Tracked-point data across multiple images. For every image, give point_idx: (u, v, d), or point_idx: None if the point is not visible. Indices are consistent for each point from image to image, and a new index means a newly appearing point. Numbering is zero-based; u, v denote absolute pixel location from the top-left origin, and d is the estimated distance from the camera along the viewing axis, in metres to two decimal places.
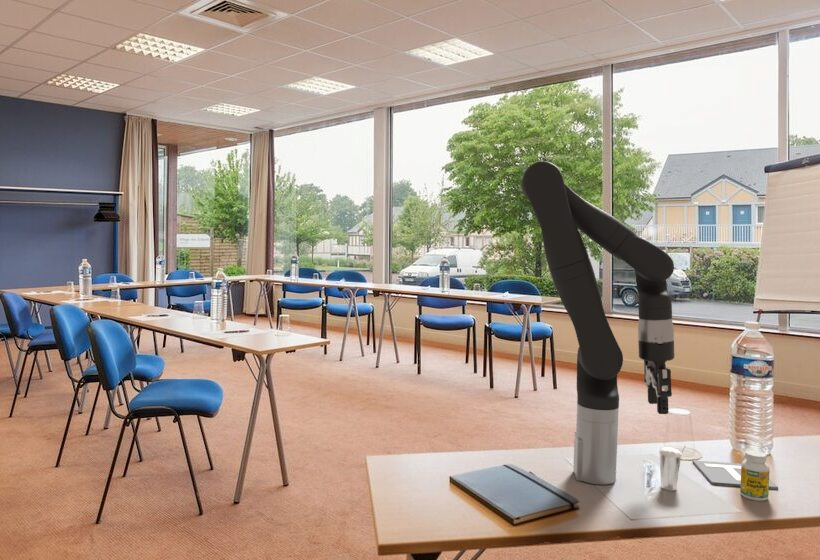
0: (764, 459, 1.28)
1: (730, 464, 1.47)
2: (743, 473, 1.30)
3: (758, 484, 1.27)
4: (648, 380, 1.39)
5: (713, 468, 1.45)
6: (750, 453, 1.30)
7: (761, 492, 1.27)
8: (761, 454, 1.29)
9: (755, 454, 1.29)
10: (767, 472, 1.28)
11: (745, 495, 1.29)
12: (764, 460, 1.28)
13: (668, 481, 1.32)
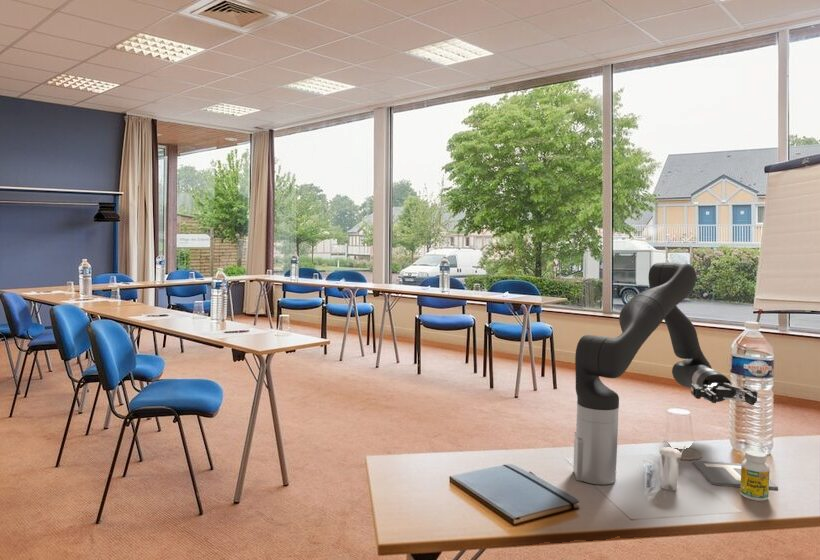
0: (764, 459, 1.28)
1: (730, 464, 1.47)
2: (743, 473, 1.30)
3: (758, 484, 1.27)
4: (712, 388, 1.49)
5: (713, 468, 1.45)
6: (750, 453, 1.30)
7: (761, 492, 1.27)
8: (762, 454, 1.29)
9: (755, 454, 1.29)
10: (767, 472, 1.28)
11: (745, 495, 1.29)
12: (764, 460, 1.28)
13: (668, 481, 1.32)
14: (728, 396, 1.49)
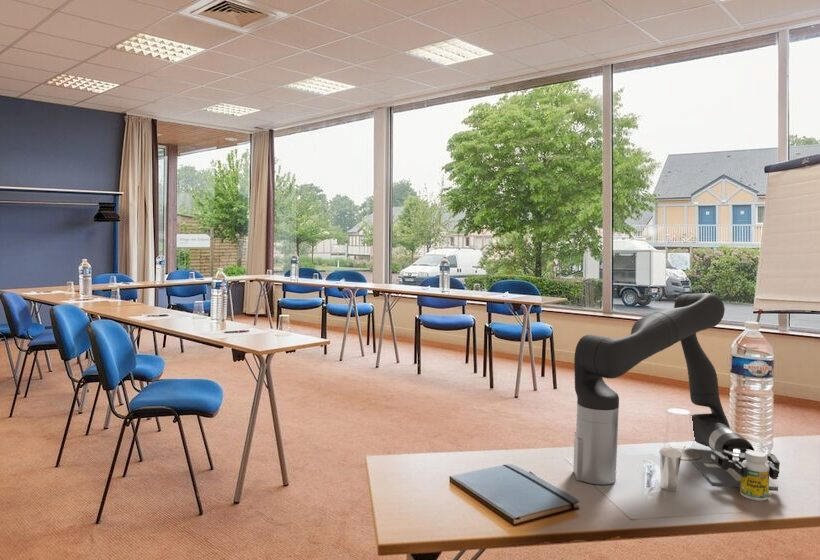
0: (764, 459, 1.28)
1: None
2: None
3: (758, 484, 1.27)
4: (739, 457, 1.34)
5: (713, 468, 1.45)
6: (750, 453, 1.30)
7: (761, 492, 1.27)
8: (762, 453, 1.29)
9: (755, 454, 1.29)
10: (767, 472, 1.28)
11: (745, 495, 1.29)
12: (764, 460, 1.28)
13: (668, 481, 1.32)
14: None
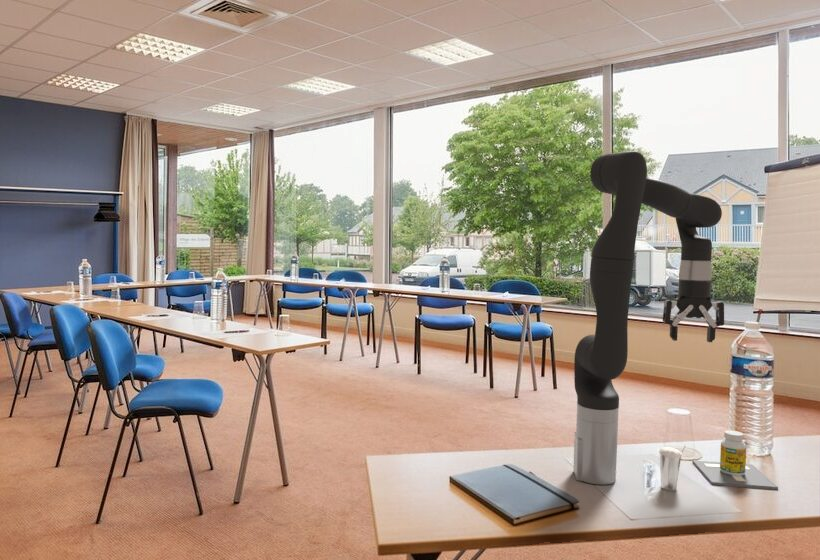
0: (741, 438, 1.40)
1: None
2: (722, 451, 1.42)
3: (735, 460, 1.39)
4: None
5: (713, 468, 1.45)
6: (729, 432, 1.42)
7: (738, 468, 1.39)
8: (739, 433, 1.41)
9: (733, 433, 1.41)
10: (744, 449, 1.39)
11: (724, 471, 1.41)
12: (741, 439, 1.40)
13: (668, 481, 1.32)
14: None
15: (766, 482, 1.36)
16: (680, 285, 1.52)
